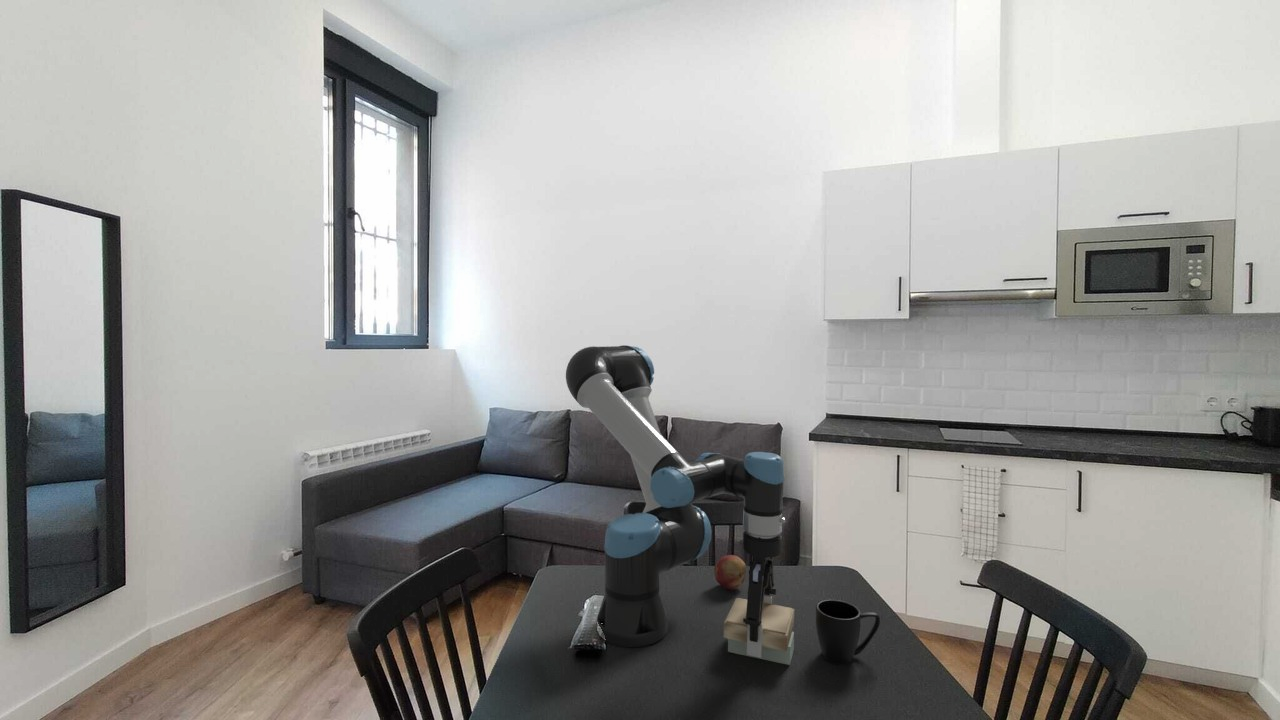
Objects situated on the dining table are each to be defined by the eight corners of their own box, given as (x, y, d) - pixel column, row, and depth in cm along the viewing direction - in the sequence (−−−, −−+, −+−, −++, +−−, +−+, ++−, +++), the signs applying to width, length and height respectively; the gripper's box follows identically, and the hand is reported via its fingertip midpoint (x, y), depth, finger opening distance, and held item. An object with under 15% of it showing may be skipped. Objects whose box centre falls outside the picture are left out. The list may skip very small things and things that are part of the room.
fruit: (724, 597, 136) (724, 564, 136) (708, 584, 144) (708, 553, 143) (751, 592, 139) (752, 559, 139) (734, 579, 147) (735, 548, 146)
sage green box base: (727, 651, 113) (728, 634, 113) (734, 636, 119) (734, 620, 119) (789, 665, 109) (790, 647, 109) (793, 648, 114) (794, 631, 114)
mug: (885, 671, 107) (887, 621, 107) (820, 667, 108) (821, 618, 108) (872, 647, 115) (873, 601, 115) (811, 643, 116) (812, 598, 116)
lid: (723, 637, 111) (724, 621, 111) (735, 611, 121) (736, 596, 121) (786, 651, 107) (787, 634, 106) (793, 623, 117) (794, 607, 117)
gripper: (772, 557, 100) (769, 677, 102) (789, 516, 122) (786, 616, 123) (730, 550, 103) (727, 667, 105) (754, 511, 125) (751, 609, 126)
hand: (759, 639), depth 114 cm, fingers closed on lid, 11 cm apart
